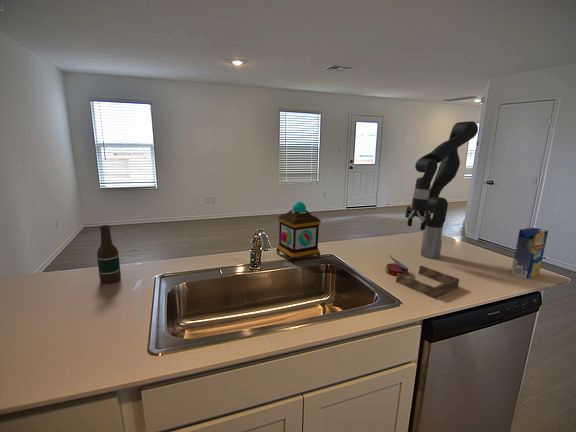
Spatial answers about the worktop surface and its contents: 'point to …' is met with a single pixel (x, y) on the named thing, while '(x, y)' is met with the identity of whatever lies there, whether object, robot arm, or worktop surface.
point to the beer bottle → (108, 258)
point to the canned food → (396, 268)
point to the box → (428, 290)
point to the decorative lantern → (298, 233)
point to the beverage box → (529, 252)
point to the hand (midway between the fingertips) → (415, 228)
